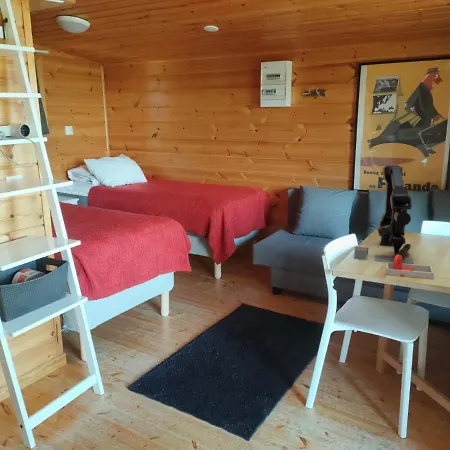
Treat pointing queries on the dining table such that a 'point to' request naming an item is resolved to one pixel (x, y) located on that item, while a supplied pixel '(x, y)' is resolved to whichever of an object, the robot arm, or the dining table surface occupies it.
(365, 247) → the key
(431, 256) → the dining table surface
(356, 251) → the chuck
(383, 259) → the mat
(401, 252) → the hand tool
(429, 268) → the parts frame
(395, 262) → the bracket
